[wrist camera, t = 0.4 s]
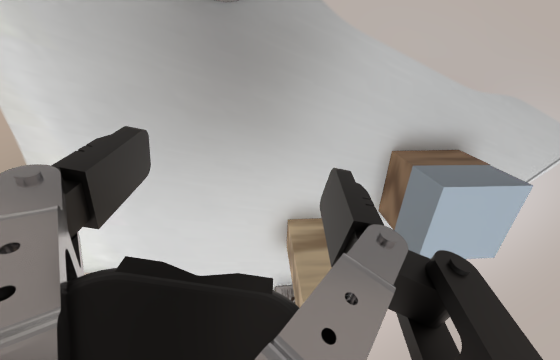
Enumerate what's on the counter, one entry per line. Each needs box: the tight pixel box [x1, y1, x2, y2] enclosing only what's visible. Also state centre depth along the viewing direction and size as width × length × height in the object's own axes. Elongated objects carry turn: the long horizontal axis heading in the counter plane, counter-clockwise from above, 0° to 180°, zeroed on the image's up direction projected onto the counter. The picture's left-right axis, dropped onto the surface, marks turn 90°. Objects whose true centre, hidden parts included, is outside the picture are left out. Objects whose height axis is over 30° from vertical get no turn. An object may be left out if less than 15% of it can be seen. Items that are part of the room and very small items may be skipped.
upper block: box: [394, 165, 533, 259], centre depth 27 cm, size 9×9×5 cm
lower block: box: [379, 150, 490, 230], centre depth 32 cm, size 9×9×5 cm
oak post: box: [287, 218, 332, 308], centre depth 30 cm, size 5×5×13 cm
